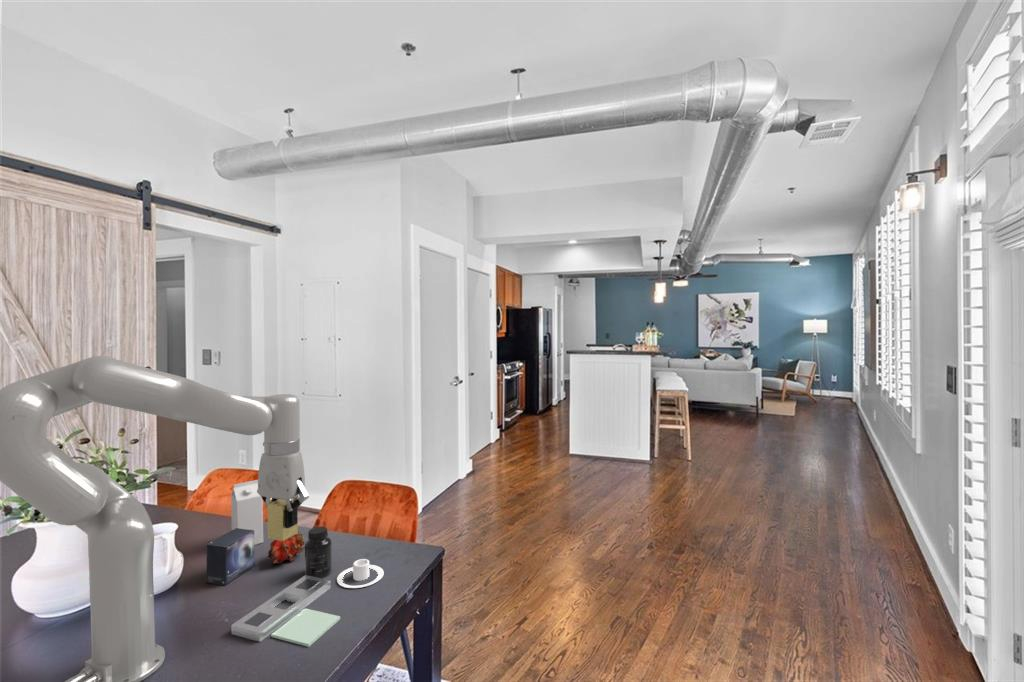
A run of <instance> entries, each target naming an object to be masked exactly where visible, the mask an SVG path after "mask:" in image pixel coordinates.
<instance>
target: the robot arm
mask: <svg viewBox="0 0 1024 682" xmlns="http://www.w3.org/2000/svg"><path fill="white" fill-rule="evenodd" d="M91 403H97V404H102V405H106V406H111V407H116V408H120V409H121V408H122V409H125V410H130V411H136V412H141V413H144V414H149V415H153V416H158V417H161V418H167V419H171V420H173V421H178V422H183V423H189V424H195V425H198V426H202V427H203V426H204V427H207V428H209V429H210V428H211V429H215V430H220V431H225V432H229V433H234V434H239V435H244V436H256V435H259V434H262V433H263V432H264V433H263V436H264V437H263V443H262V446H263V447H264V449H263V450H264V451H263V452H262V453H261V456H260V460H259V467H258V473H257V480H258V490H257V493H258V494H259V495H260V496H261V497H262V499H263V502H264V507H265V508H266V509H267V504H269V503H271V502H273V501H276V500H278V499H282V500H286V505H287V510H288V511H285V527H286V528H290V527H292V526H294V525H296V524H297V523H298V521H299V520H298V516H299V515H298V513H299V512H298V508H300V507H301V505H302V504H303V502H305V501H306V500H309V497H310V495H309V493H308V492H307V490H306V487H305V486H306V483H305V481H306V479H305V478H306V477H305V468H304V460H303V455H302V453H301V452H300V451H301V449H300V448H301V447H300V445H301V444H300V441H301V440H300V439H301V437H300V435H301V434H300V432H301V430H300V428H301V427H300V425H301V424H300V422H301V421H300V419H301V417H300V416H301V415H300V414H301V413H300V410H301V409H300V398H299V397H298V396H297V395H295V394H292V393H291V394H290V393H289V394H288V393H286V394H284V393H282V394H274V395H269V396H255V395H254V396H253V395H252V396H251V395H250V396H249V395H246V396H245V395H242V396H240V395H237V394H233V393H228V392H226V391H222V390H220V389H217V388H216V389H215V388H213V387H209V386H207V385H205V384H202V383H200V382H197V381H195V380H193V379H189V378H187V377H184V376H180V375H177V374H172V373H169V372H164V371H161V370H157V369H153V368H150V367H149V368H148V367H145V366H142V365H138V364H134V363H131V362H126V361H123V360H119V359H116V358H113V357H112V356H108V355H107V356H106V355H95V356H91V357H87V358H85V359H84V358H83V359H81V360H80V361H79V360H78V361H77V362H74V363H71V364H68V365H65V366H61V367H58V368H56V369H52V370H49V371H45V372H43V373H40V374H36V375H33V376H30V377H25V378H23V379H21V380H17V381H14V382H12V383H9V384H6V385H5V386H4V387H1V389H0V482H1V483H2V484H4V486H6V487H7V488H9V489H10V490H11V491H12V492H13V493H15V494H16V495H17V496H18V497H19V498H21V499H23V500H24V502H26V503H27V504H29V505H30V506H32V507H33V508H34V509H36V510H37V512H39V513H41V514H42V515H43V516H44V517H45V518H46V519H48V520H49V521H51V522H52V523H55V524H57V525H61V526H75V527H77V528H78V529H79V530H81V531H82V532H84V533H85V534H86V535H87V551H88V573H89V576H88V580H89V603H90V604H89V605H90V606H89V607H90V610H89V611H90V635H91V637H90V639H91V658H89V659H87V660H85V661H84V668H82V669H81V670H80V671H79V673H78V674H76V675H74V676H71V677H70V678H68V679H67V680H65V681H64V682H142V681H144V680H145V679H147V678H148V677H150V676H151V675H152V674H153V673H155V672H156V671H158V669H159V668H160V667H161V666H162V665H163V663H164V661H165V659H166V650H165V648H164V647H163V646H161V645H159V644H156V642H155V641H156V634H155V625H156V624H155V594H154V593H155V592H154V591H155V589H154V550H155V549H154V548H155V533H154V532H155V531H154V527H153V523H152V521H151V518H150V515H149V513H148V511H147V510H146V508H145V506H144V504H143V503H142V502H141V501H139V499H137V497H135V496H134V495H132V493H130V492H129V491H128V490H127V489H125V488H124V487H123V486H122V485H121V484H120V483H118V482H117V481H116V480H114V479H113V478H112V477H111V476H110V475H109V474H108V473H106V472H105V471H103V470H102V469H101V468H99V467H97V466H96V465H93V464H90V463H85V462H76V460H74V459H73V458H72V457H71V456H69V455H68V454H67V453H66V452H65V451H64V450H63V449H61V448H60V447H58V446H57V445H56V444H55V443H54V442H52V441H51V440H50V439H49V438H48V437H47V435H46V433H45V428H46V426H47V425H48V424H49V422H50V421H51V420H52V418H53V417H54V418H55V417H56V416H59V415H62V414H64V413H67V412H70V411H73V410H75V409H77V408H80V407H83V406H85V405H88V404H89V405H90V404H91ZM291 499H293V501H294V502H293V503H292V500H291ZM298 524H299V523H298Z"/></svg>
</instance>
